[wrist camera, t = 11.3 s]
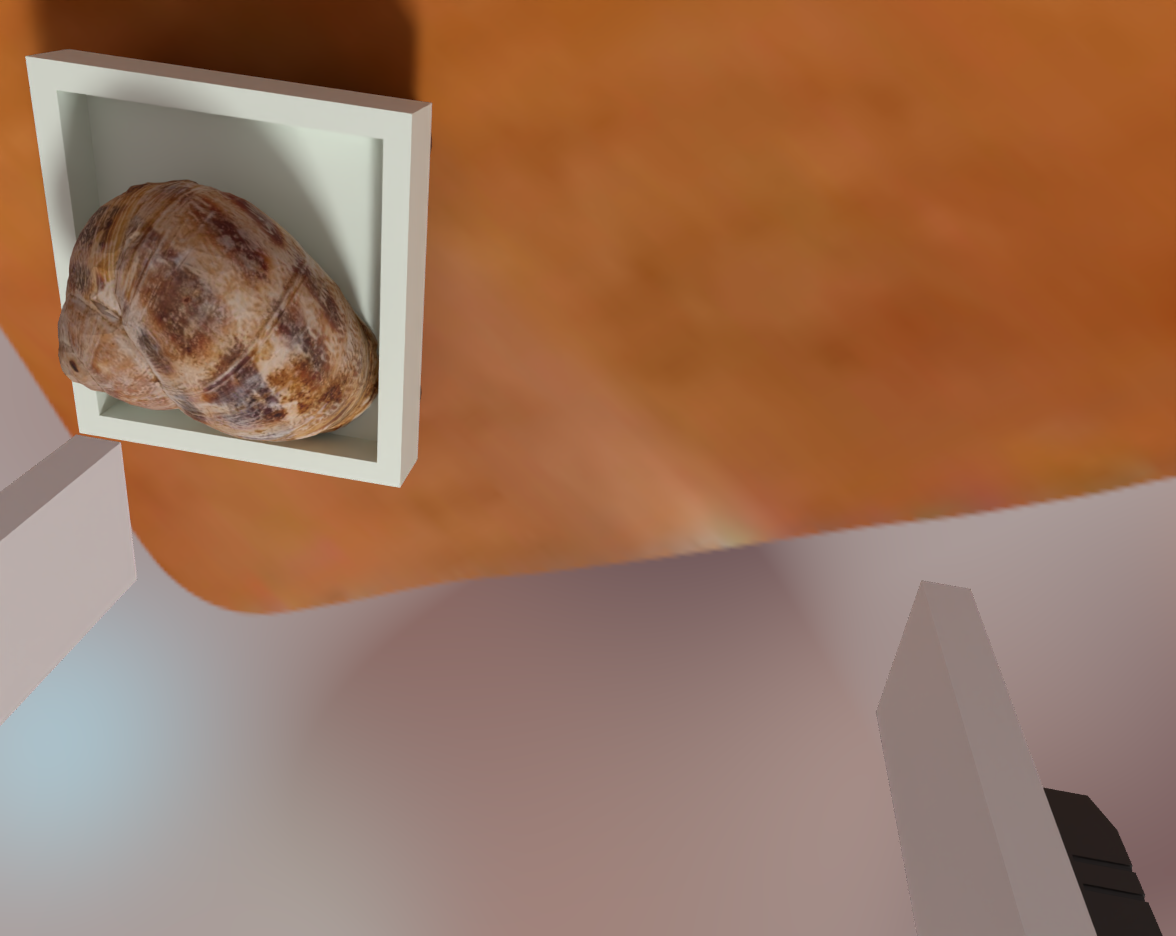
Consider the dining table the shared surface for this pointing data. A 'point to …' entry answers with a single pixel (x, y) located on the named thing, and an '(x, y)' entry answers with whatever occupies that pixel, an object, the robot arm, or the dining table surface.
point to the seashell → (212, 317)
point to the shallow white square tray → (278, 188)
